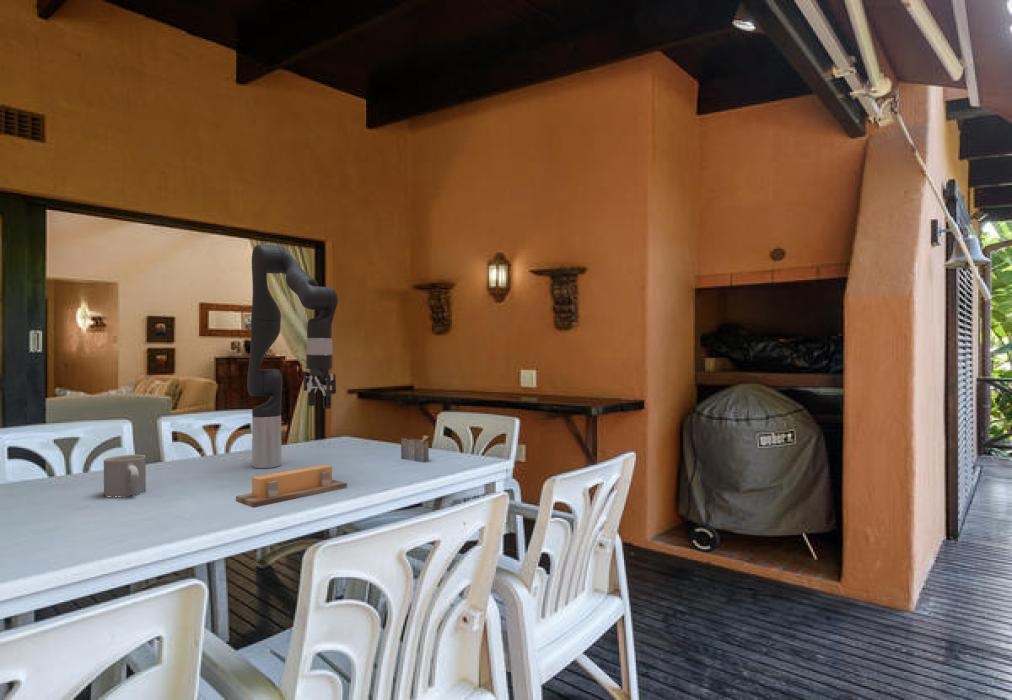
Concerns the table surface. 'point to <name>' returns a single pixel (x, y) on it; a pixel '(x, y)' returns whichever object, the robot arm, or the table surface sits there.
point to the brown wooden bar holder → (275, 497)
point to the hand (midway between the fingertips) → (319, 407)
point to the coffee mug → (124, 475)
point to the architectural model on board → (415, 449)
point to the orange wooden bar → (290, 480)
